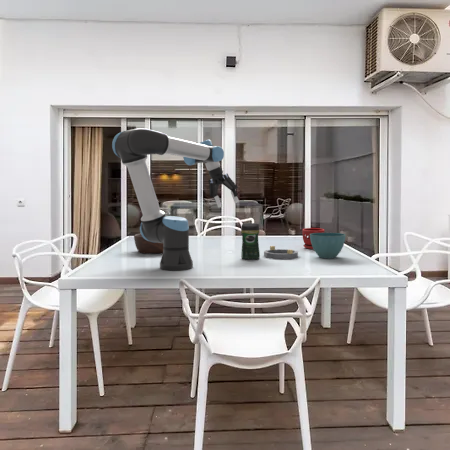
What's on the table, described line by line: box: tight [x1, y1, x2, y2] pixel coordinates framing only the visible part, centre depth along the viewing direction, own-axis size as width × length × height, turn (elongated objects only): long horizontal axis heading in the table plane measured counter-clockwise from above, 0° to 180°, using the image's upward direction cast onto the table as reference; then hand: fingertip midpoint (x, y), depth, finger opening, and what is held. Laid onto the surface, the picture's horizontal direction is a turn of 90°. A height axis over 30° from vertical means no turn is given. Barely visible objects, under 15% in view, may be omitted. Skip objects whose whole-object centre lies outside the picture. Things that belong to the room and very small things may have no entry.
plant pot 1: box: [302, 227, 325, 250], centre depth 244 cm, size 13×13×12 cm
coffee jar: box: [240, 222, 261, 261], centre depth 207 cm, size 10×8×19 cm
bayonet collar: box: [263, 245, 299, 260], centre depth 215 cm, size 18×18×4 cm
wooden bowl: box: [133, 233, 163, 255], centre depth 236 cm, size 25×25×10 cm
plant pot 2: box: [310, 232, 347, 259], centre depth 211 cm, size 18×18×12 cm
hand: (228, 204), depth 219 cm, fingers open, 13 cm apart
